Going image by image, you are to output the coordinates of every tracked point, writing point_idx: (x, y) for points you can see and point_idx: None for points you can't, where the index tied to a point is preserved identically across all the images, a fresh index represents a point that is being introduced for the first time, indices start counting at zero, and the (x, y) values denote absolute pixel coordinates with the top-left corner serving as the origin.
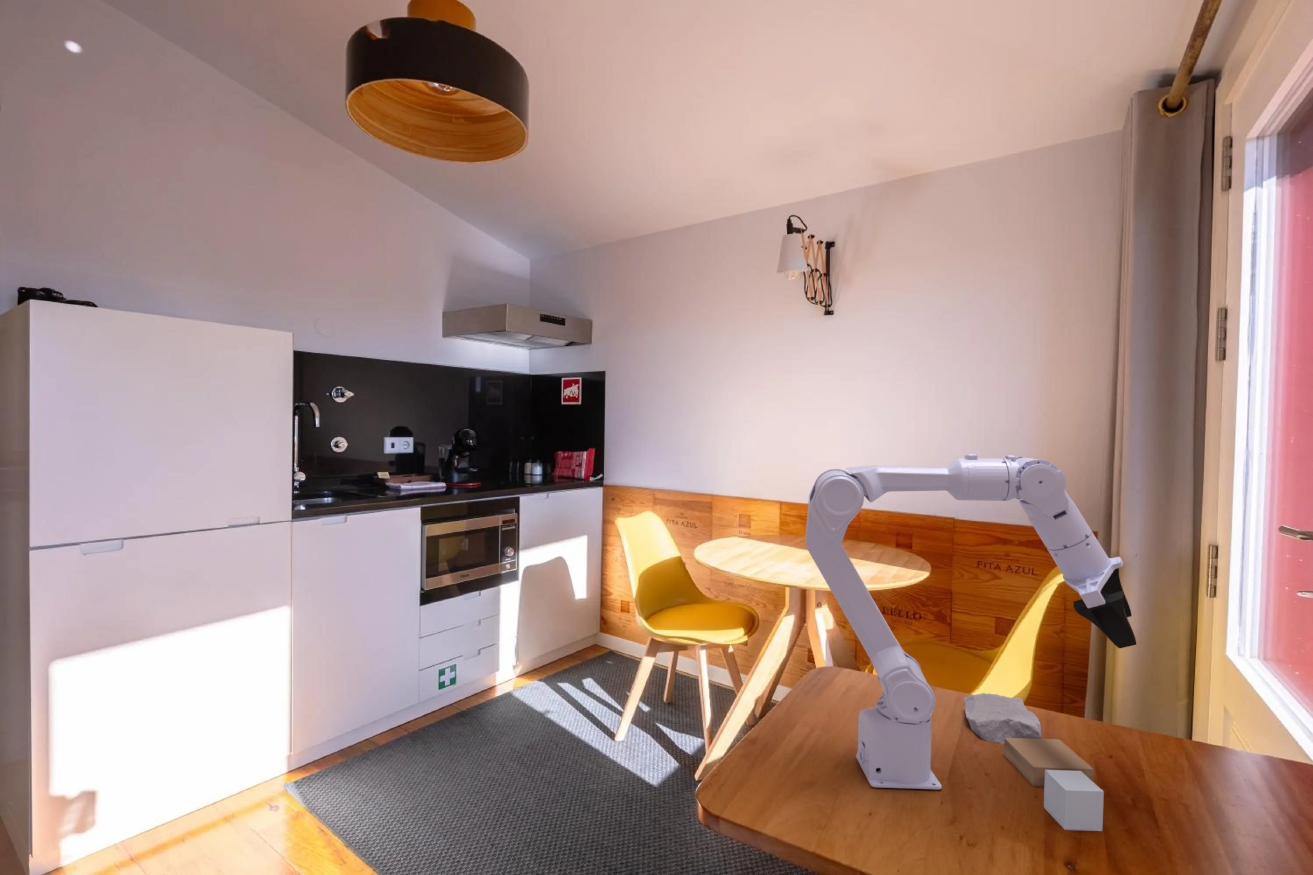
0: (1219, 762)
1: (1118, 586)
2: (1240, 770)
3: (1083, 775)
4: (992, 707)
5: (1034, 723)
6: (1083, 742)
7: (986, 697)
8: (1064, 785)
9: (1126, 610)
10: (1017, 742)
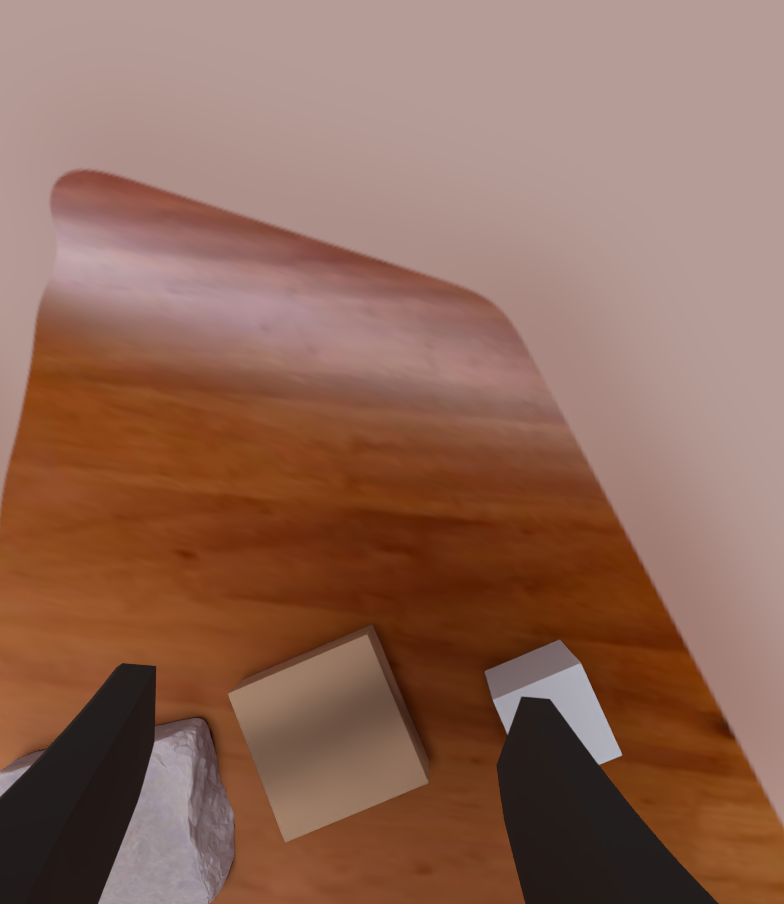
0: (107, 317)
1: (35, 901)
2: (130, 285)
3: (515, 696)
4: None
5: (179, 757)
6: (133, 605)
7: None
8: (598, 754)
9: (139, 713)
10: (299, 809)
